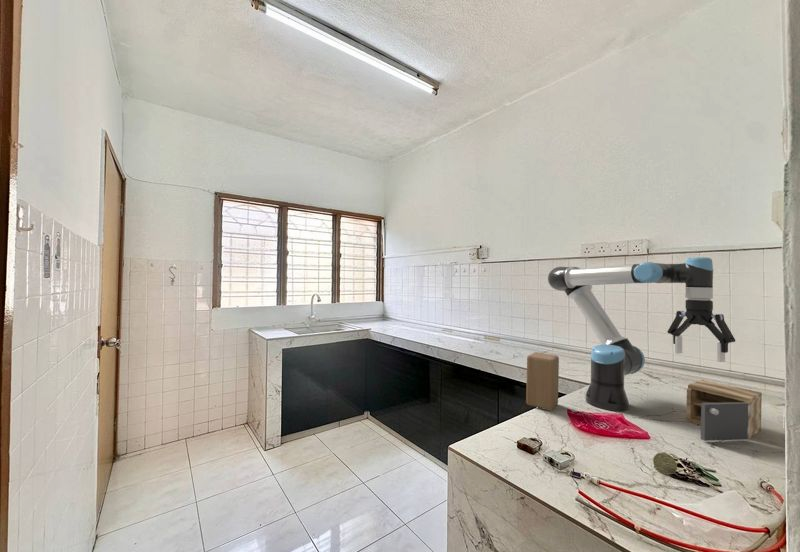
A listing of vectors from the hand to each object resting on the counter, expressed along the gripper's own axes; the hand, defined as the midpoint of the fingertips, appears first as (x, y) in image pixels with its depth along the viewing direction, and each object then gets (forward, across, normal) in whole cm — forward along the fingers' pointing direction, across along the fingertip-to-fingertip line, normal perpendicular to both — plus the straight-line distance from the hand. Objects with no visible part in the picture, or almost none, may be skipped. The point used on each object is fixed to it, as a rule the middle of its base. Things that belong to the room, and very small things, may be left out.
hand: (698, 357), depth 122 cm
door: (+23, -14, +10) cm, 28 cm away
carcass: (+23, -5, -4) cm, 24 cm away
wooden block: (+23, +27, +47) cm, 58 cm away
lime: (+24, -21, +47) cm, 56 cm away
